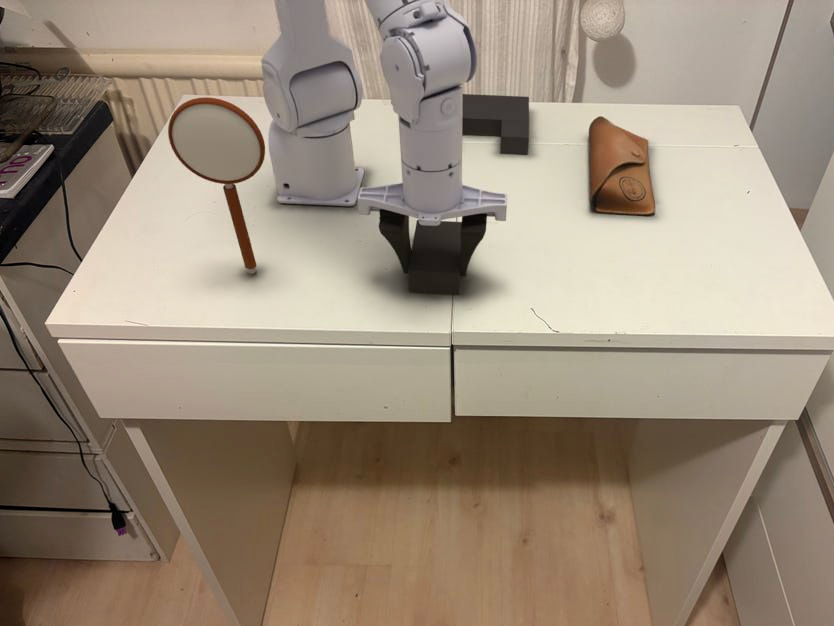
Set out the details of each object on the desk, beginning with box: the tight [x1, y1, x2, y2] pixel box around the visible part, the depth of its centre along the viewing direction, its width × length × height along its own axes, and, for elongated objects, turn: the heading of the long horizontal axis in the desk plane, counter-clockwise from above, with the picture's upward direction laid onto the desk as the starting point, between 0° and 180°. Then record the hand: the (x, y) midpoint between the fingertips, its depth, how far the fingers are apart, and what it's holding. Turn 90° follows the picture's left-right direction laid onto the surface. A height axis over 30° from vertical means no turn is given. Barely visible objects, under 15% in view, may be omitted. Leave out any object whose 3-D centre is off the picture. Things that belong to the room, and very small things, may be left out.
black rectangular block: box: [407, 219, 462, 296], centre depth 78 cm, size 5×9×3 cm, turn 177°
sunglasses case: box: [588, 115, 656, 216], centre depth 91 cm, size 18×7×7 cm
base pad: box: [462, 93, 530, 155], centre depth 99 cm, size 14×12×2 cm
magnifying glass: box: [167, 97, 266, 275], centre depth 70 cm, size 9×2×20 cm, turn 90°
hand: (435, 269), depth 76 cm, fingers closed on black rectangular block, 5 cm apart
